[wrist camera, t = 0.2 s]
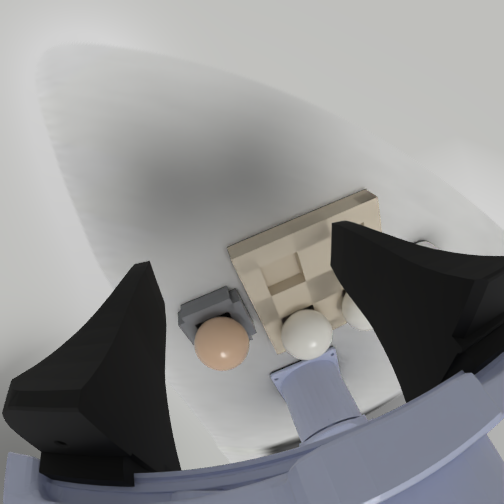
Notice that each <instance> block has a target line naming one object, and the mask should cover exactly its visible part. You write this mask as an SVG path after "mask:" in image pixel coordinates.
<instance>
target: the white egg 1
mask: <svg viewBox="0 0 504 504" xmlns="http://www.w3.org/2000/svg"><path fill="white" fill-rule="evenodd" d="M332 336H333V332H332V327H331V324H330V322H329V320H328V319H327V318H326V317H325V316H324V315H323V314H321V313H320V312H318V311H315V310H310V309H305V310H300V311H297V312H295V313H293V314H292V315H291V316H289V318H288V319H287V320H286V321H285V323H284V325H283V327H282V331H281V339H282V343H283V346H284V348H285V349H286V351H287V352H288V353H289V354H290V355H291V356H293V357H295V358H297V359H300V360H312V359H315V358H318V357H320V356H321V355H323V354H324V353H325V352H326V351H327V349H328V348H329V346H330V344H331V341H332Z"/></svg>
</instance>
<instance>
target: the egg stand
mask: <svg viewBox="0 0 504 504" xmlns="http://www.w3.org/2000/svg"><path fill="white" fill-rule="evenodd" d="M226 312H229V313H230V315H231V317H232V318H233V319H234V320H236V321H237V322H239V323H240V324H241V325H242V326H243V327H244V329H245V330H246V332H247V334H248V337H249V341H250V340H253V339H252V336H251V335H253V334H255V333H257V332H256V329H255V326H254V323H253V321H252V319H251V317H250V315H249V313H248V311H247V309H246V307H245V305H244V303H243V301H242V299H241V297H240V296H239V294H238V292H237V290H236V289H234V290H232V291H229V290H228V288H227V286H226V287H224V288H221V289H219V290H217V291H214V292H212V293H209V294H207V295H205V296H202V297H200V298H197V299H195V300H193V301H190V302H188V303H185V304H183V305H181V312H178V325H179V327H180V328H181V329H182V331H183V332H184V333H185V335H186V336H187V337H188V339H189V340H190V341H191V342H192V344H193V345H194V340H195V335H196V332H197V330H198V329H199V327H200V326H201V325H202V324H201V323H202V322H204V321H207V320H209V319H211V318H214V317H216V316H219V315H221V314H224V313H226Z"/></svg>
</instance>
